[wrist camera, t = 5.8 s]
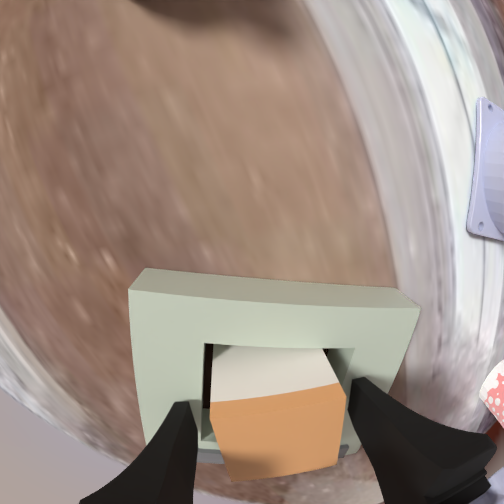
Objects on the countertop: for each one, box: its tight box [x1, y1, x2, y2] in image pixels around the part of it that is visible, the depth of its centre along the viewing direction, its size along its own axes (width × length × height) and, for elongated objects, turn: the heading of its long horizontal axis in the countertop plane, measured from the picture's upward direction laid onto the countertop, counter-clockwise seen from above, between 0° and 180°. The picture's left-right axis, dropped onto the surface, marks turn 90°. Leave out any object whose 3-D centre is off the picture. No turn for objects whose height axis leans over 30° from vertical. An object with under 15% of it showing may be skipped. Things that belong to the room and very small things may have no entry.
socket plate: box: [128, 268, 421, 464], centre depth 13 cm, size 12×10×3 cm
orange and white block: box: [210, 344, 346, 482], centre depth 12 cm, size 4×4×6 cm
